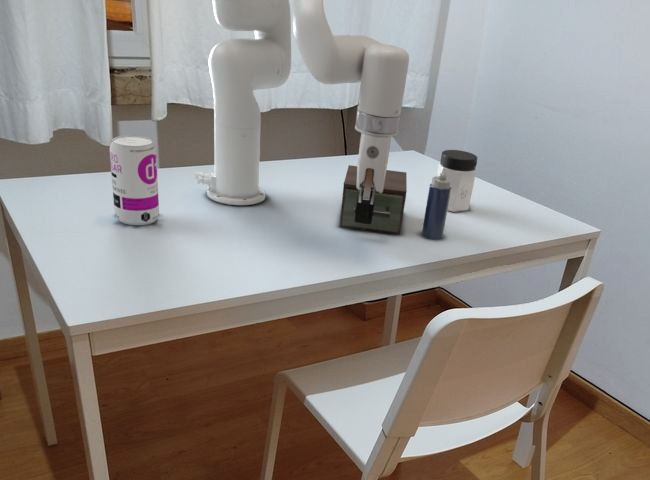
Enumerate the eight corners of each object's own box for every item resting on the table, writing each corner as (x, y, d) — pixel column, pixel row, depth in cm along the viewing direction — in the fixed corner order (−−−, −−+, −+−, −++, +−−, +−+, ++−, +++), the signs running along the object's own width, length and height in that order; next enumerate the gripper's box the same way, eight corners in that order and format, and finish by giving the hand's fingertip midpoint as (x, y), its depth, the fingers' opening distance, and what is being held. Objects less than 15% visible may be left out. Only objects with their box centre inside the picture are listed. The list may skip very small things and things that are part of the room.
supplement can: (168, 218, 132) (165, 141, 124) (139, 230, 126) (134, 149, 118) (135, 208, 135) (130, 132, 127) (105, 219, 128) (98, 140, 120)
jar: (447, 213, 152) (456, 161, 146) (424, 201, 158) (433, 150, 152) (476, 209, 157) (486, 158, 151) (453, 198, 163) (462, 148, 156)
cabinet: (400, 234, 138) (406, 191, 133) (339, 227, 138) (343, 183, 133) (400, 212, 150) (406, 172, 145) (344, 205, 150) (348, 165, 145)
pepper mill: (421, 238, 138) (432, 174, 131) (421, 230, 141) (431, 168, 135) (443, 240, 138) (454, 177, 131) (442, 233, 141) (453, 171, 135)
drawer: (397, 240, 133) (402, 204, 129) (340, 232, 133) (344, 197, 129) (398, 211, 147) (403, 179, 143) (346, 205, 147) (350, 172, 143)
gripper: (397, 136, 110) (381, 240, 120) (399, 116, 123) (384, 211, 133) (352, 130, 110) (339, 233, 120) (358, 110, 123) (346, 205, 133)
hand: (363, 221), depth 126 cm, fingers closed
